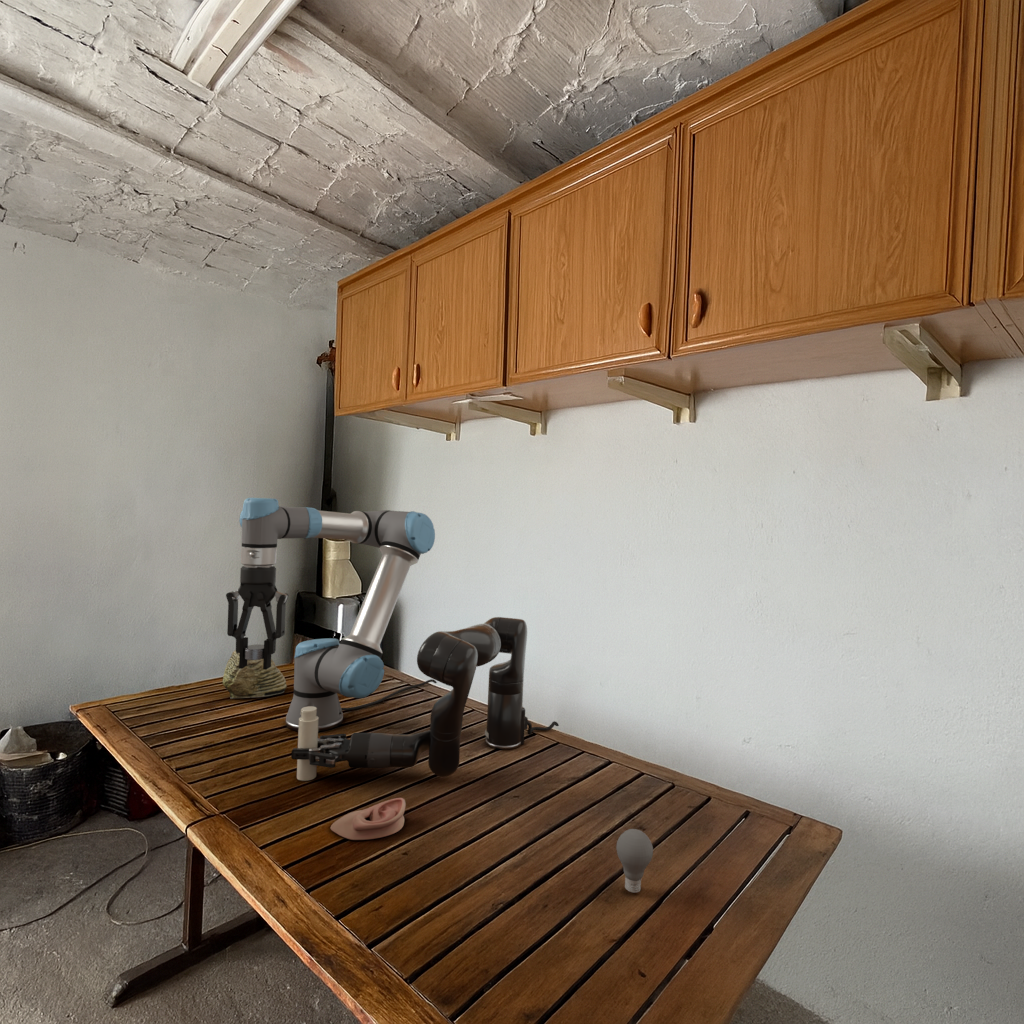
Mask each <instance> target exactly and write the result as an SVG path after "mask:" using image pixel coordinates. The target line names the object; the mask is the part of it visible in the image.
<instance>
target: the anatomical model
mask: <svg viewBox="0 0 1024 1024" xmlns="http://www.w3.org/2000/svg"><path fill="white" fill-rule="evenodd" d="M406 807H407V804H406V799H405V798H403V797H396V798H391V799H388V800H385V801H382V802H378V803H376V804H374V805H372V806H370V807H367V808H364V809H360V810H355V811H351V812H348V813H347V814H344V815H343V816H341V817H340V818H338V819H336V820H335V821H334V822H333V823H332V824H331V825H330V830H331V832H333V833H335V834H337V835H338V836H339V837H342V838H344V839H346V840H351V841H365V840H374V839H380V838H384V837H388V836H391V835H394V834H395V833H397V832H399V831H400V830H402V829H403V828H404V825H405V816H404V814H405V812H406V811H405V810H406Z"/></svg>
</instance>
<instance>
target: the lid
mask: <svg viewBox="0 0 1024 1024" xmlns="http://www.w3.org/2000/svg"><path fill="white" fill-rule="evenodd" d="M244 658H245V659H247V660H261V659H264V644H260V643H259V644H248V646H246V647H245V650H244Z"/></svg>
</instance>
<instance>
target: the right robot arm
mask: <svg viewBox="0 0 1024 1024" xmlns="http://www.w3.org/2000/svg"><path fill="white" fill-rule="evenodd" d="M527 643H528V625H527V622H526V621H525V620H524V619H522V618H513V617H503V616H495V617H491V618H489V619H488V620H486V621H485V622H484V623H479V624H478V623H477V624H474V625H470V626H468V627H465V628H460V629H456V630H449V631H447V630H446V631H445V630H438V631H436V632H433V633H432V634H430V635H429V636H428V637H427V638H426V639H425V640H424V641H423V642H422V644H421V645H420V647H419V648H418V649H419V650H418V651H417V656H416V664H417V667H418V670H419V671H420V672H421V673H422V674H423V675H424V676H426V677H428V678H430V679H433V680H435V681H436V682H439V683H441V684H444V685H446V686H449V687H451V688H452V689H450V691H448V692H447V693H446V694H444V695H442V696H441V697H440V698H438V699H437V700H436V702H435V703H434V705H433V707H432V709H431V711H430V720H429V721H430V722H429V727H430V728H429V729H428V730H425V731H420V732H415V733H412V734H391V733H386V732H352V734H351V736H350V738H349V739H348V738H347V734H346V733H336V734H326V735H319V737H318V748H311V749H310V748H298V743H297V745H296V746H297V747H294V748H292V750H291V757H290V758H291V759H292V760H297V759H307V760H308V759H309V761H310V765H316V766H317V767H323V768H329V769H330V768H331V769H333V768H334V769H335V768H336V763H341V762H348V763H347V764H348V767H349V768H350V769H385V768H413V767H415V766H416V765H417V762H418V761H419V757H420V755H421V753H422V754H423V752H426V751H428V760H427V763H428V768H429V770H430V771H431V773H432V774H434V775H436V776H437V777H442V778H445V777H449V776H451V775H453V774H454V773H455V772H456V771H457V770H458V768H459V766H460V757H461V754H460V753H461V736H462V732H463V721H464V711H465V707H466V704H467V701H468V698H469V695H470V691H471V689H472V684H473V681H474V677H475V674H476V670H477V668H479V667H482V666H484V665H486V664H488V663H490V662H492V661H493V660H495V659H496V657H497V656H498V655H499V653H501V654H509V655H510V658H509V660H506V661H504V662H499V663H496V664H494V665H492V666H491V667H489V669H488V684H487V685H488V686H487V687H488V688H487V710H486V711H487V712H486V729H484V735H485V744H486V745H487V746H488V747H490V748H492V749H495V750H503V751H504V750H507V751H508V750H513V749H517V748H519V747H521V746H522V745H525V730H527V734H528V735H532V733H533V732H534V731H540V732H547V731H551V730H552V729H553V728H554V727H559V726H560V725H559V723H558V722H557V721H555V720H554V721H552V722H551V723H550V724H549V725H548V726H545V727H542V726H533V725H532V723H531V722H530V721H529V718H528V717H527V716H526V708H525V707H524V705H523V702H524V678H525V666H526V654H527V653H526V652H527V651H526V650H527Z"/></svg>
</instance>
